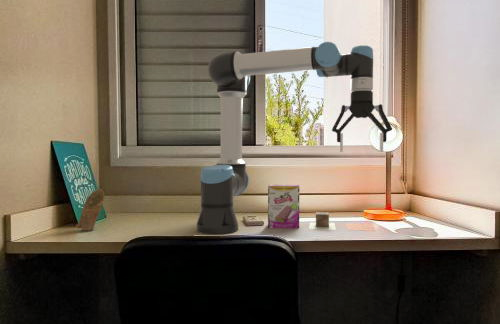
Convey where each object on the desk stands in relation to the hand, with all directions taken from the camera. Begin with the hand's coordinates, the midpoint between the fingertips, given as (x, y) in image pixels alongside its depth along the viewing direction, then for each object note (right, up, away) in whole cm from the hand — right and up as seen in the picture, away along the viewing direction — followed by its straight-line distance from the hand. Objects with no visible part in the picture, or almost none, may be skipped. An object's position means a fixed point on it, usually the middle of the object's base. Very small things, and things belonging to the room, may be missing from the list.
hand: (361, 151), depth 130 cm
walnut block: (-13, -27, +2) cm, 30 cm away
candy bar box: (-27, -28, +1) cm, 39 cm away
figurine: (-98, -29, +6) cm, 102 cm away
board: (-7, -28, 0) cm, 29 cm away
